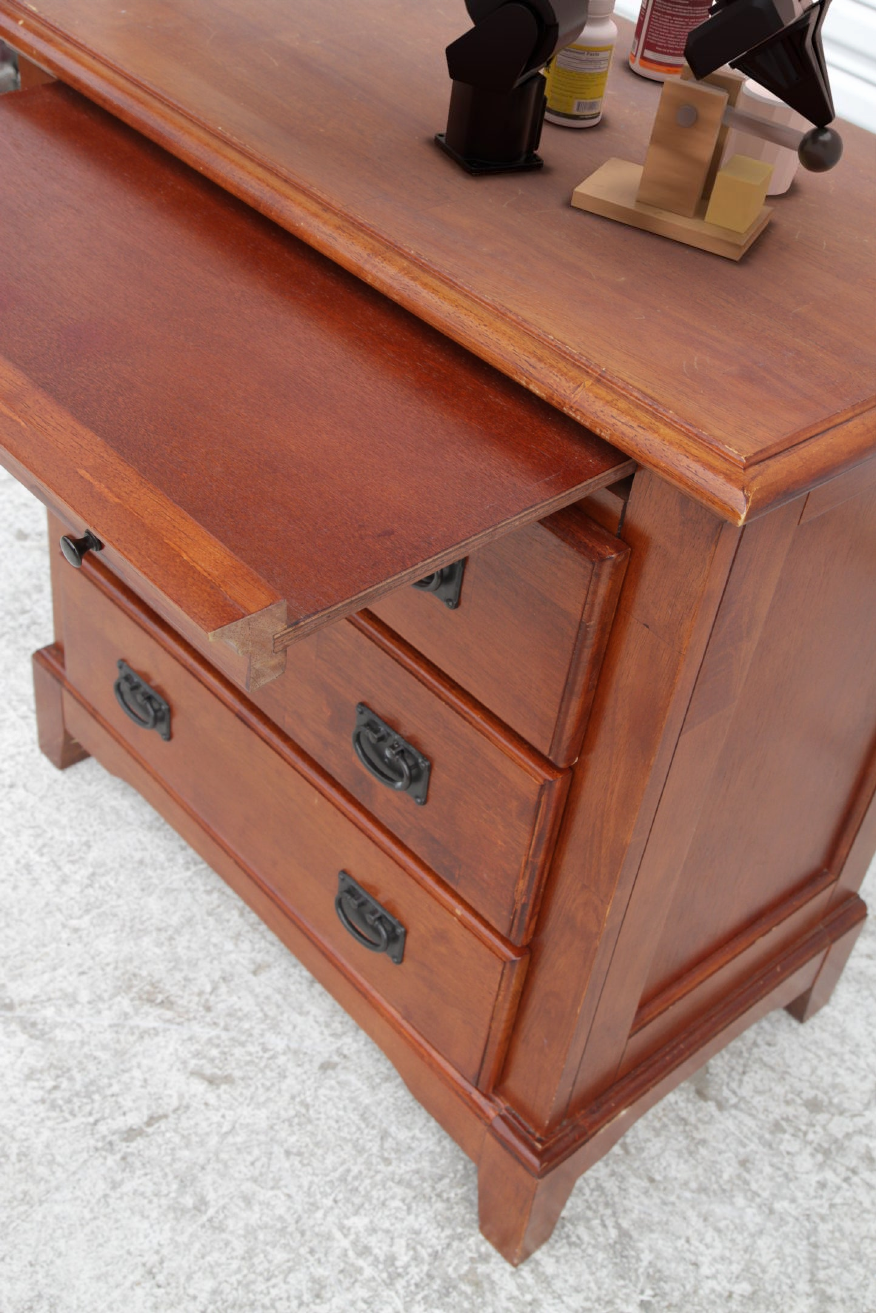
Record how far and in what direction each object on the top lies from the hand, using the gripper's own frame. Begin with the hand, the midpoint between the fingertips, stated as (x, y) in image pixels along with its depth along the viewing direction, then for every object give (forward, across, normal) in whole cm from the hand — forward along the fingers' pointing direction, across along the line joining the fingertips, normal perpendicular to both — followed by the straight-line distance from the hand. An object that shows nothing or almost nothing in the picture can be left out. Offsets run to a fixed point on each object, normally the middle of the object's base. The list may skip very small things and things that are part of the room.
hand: (827, 123), depth 87 cm
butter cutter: (0, 0, +13) cm, 13 cm away
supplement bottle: (-9, +12, +22) cm, 27 cm away
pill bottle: (-8, +29, +21) cm, 36 cm away
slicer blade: (-1, 0, +5) cm, 5 cm away
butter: (+3, 0, +9) cm, 9 cm away
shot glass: (+3, +11, +11) cm, 16 cm away
